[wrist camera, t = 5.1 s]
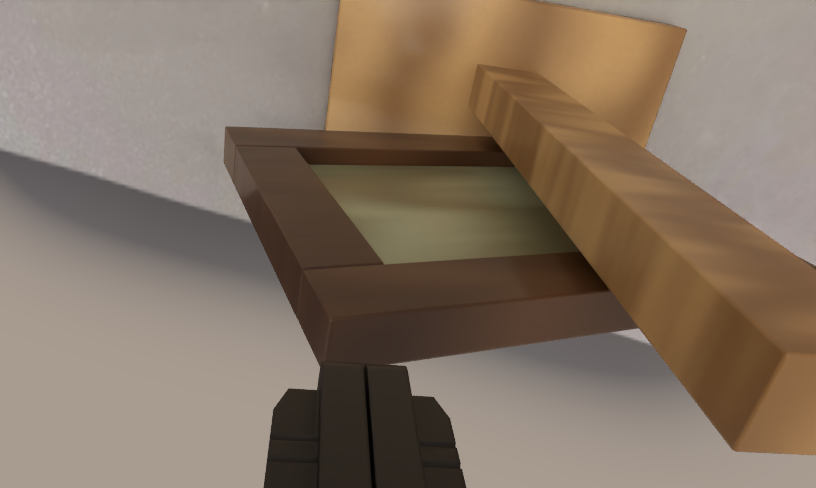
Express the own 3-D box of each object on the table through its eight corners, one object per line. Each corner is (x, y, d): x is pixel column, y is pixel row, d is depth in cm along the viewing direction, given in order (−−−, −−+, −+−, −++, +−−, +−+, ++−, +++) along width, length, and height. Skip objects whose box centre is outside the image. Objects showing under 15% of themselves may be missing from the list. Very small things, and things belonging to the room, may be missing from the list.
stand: (323, 139, 30) (307, 570, 10) (343, -35, 27) (380, 82, 6) (619, 178, 33) (1075, 576, 13) (672, 24, 30) (1418, 238, 9)
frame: (223, 163, 22) (322, 375, 13) (224, 125, 21) (330, 319, 12) (570, 167, 29) (800, 305, 20) (578, 139, 28) (820, 267, 19)
